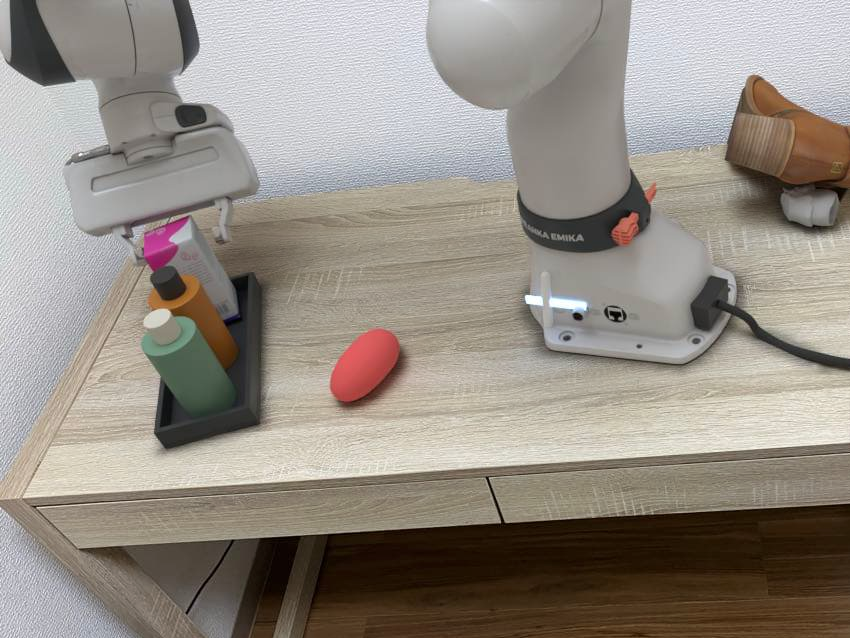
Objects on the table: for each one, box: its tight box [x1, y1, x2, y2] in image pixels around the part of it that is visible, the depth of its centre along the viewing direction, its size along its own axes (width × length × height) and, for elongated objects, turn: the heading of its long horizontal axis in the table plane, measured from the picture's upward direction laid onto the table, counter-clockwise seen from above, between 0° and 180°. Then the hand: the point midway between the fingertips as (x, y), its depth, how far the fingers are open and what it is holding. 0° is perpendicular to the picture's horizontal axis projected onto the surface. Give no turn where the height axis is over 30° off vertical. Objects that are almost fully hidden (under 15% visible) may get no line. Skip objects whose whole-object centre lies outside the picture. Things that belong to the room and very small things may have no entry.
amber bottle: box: [147, 266, 239, 370], centre depth 98 cm, size 6×6×12 cm
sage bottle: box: [140, 309, 237, 419], centre depth 93 cm, size 6×6×12 cm
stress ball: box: [329, 328, 401, 403], centre depth 95 cm, size 5×9×6 cm
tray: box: [153, 270, 263, 450], centre depth 102 cm, size 23×10×3 cm, turn 12°
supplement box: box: [143, 214, 240, 324], centre depth 104 cm, size 6×6×12 cm
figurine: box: [780, 183, 841, 228], centre depth 101 cm, size 4×8×5 cm
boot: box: [724, 73, 850, 189], centre depth 105 cm, size 9×24×19 cm
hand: (183, 254), depth 102 cm, fingers open, 8 cm apart
